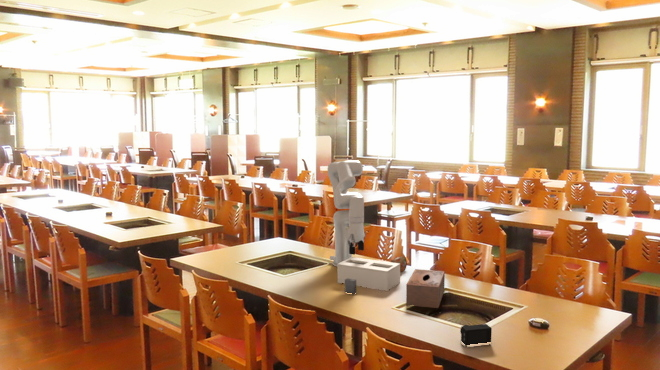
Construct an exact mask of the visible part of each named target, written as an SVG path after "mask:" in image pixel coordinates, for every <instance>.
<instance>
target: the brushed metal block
mask: <svg viewBox="0 0 660 370" xmlns="http://www.w3.org/2000/svg"><path fill="white" fill-rule="evenodd" d="M345 292H347V293H352V294H355V293H356V294H357V286H356V280H355V279H349V278H347V279H345V284H344V293H345ZM356 294H355V295H356Z"/></svg>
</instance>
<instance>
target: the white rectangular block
mask: <svg viewBox="0 0 660 370" xmlns="http://www.w3.org/2000/svg"><path fill="white" fill-rule="evenodd" d="M347 278H349V279H355V280H356V287H360V286H362V287H361V288H366V287H367V289H373V290H378V289H379V290H378V291H384V290H386V291H385V292H388V291H390V290H391V289H393V288H395V287H396V286H397V285H398V284H400V283H401V273H400V263H392V262H391V261H384V260H379V259H378V260H377V259H376V260H375V259H371V258H370V259H369V258H361V257H355V256H352V257H351V258H349V259H347V260H345V261H343V262H340V263H338V264H337V284H342V283H345V279H347ZM389 289H390V290H389Z"/></svg>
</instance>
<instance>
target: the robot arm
mask: <svg viewBox="0 0 660 370" xmlns="http://www.w3.org/2000/svg"><path fill="white" fill-rule="evenodd" d="M363 167H364V166H363V164H362V162H361V161H360V160H342V161H333V162H330V163H329V164H328V166H327V175H328V179H329V181H330V184H331V186H332V193H333V203H334V207H335V208H336V209H338V211H335V212H334V214H333V217H332V218H333V219H332V221H333V226H334V243H335V244H334V255H330V256H329V260H330V261H333V262H332V265H333V266H334V267H337V264H338V263H340V262H343V261H345V260H347V259H349V258H351V257H353V255H356V243H357V250H358V251H364V250H365V240H366V239H365V238H366V237H365V236H366V233H365V225H364V222H365V197H364V196H363V195H362V193H359V192H356V191H348V190H350V189H351V188H353V187H354V186H355V185H356V183H357V182H356V181H357V180H356V177H358V176H361V175H362V174H363V171H364V170H363V169H364V168H363Z"/></svg>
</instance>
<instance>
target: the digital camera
mask: <svg viewBox="0 0 660 370" xmlns="http://www.w3.org/2000/svg"><path fill="white" fill-rule="evenodd" d="M459 331H460V332H459V333H460V342H461V341H462V342H463V343H464V344H465V345H470V344H478V343H487V342H491V343H492V333H493V332H492V327H491V326H490V325H488V324H487V323H484V324H483V323H481V324H472V325H468V324H463V325H462V326H460V330H459Z"/></svg>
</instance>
